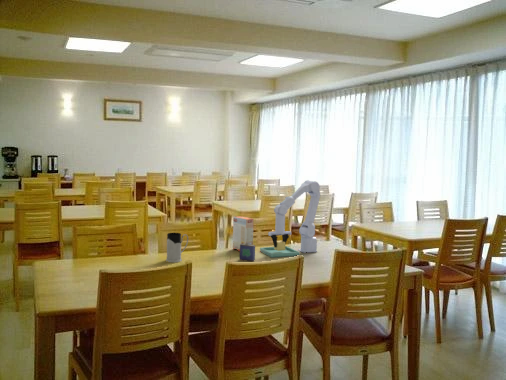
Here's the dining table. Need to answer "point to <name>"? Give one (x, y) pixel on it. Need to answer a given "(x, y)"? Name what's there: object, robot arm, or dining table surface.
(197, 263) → the dining table surface
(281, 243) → the ochre cube
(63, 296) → the dining table surface
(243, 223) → the cracker box
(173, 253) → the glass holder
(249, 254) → the blue gift bag
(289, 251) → the teal tray
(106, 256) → the dining table surface
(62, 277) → the dining table surface
